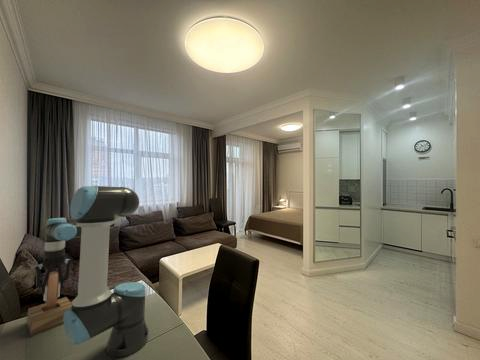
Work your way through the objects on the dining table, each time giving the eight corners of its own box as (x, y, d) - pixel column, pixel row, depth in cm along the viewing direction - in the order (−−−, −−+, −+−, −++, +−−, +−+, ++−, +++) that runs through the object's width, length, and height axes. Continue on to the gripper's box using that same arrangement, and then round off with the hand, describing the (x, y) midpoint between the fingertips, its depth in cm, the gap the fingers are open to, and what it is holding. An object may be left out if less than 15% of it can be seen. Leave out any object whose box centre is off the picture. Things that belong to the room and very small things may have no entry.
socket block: (72, 320, 96) (73, 305, 97) (31, 336, 85) (32, 319, 86) (65, 310, 105) (66, 296, 105) (27, 324, 94) (28, 308, 94)
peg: (57, 304, 96) (59, 272, 97) (46, 307, 93) (48, 275, 94) (55, 301, 99) (57, 270, 100) (44, 304, 95) (46, 273, 97)
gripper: (74, 244, 107) (71, 289, 105) (28, 252, 93) (25, 303, 92) (78, 246, 102) (75, 293, 100) (31, 254, 89) (27, 308, 87)
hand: (51, 297), depth 96 cm, fingers closed on peg, 4 cm apart
